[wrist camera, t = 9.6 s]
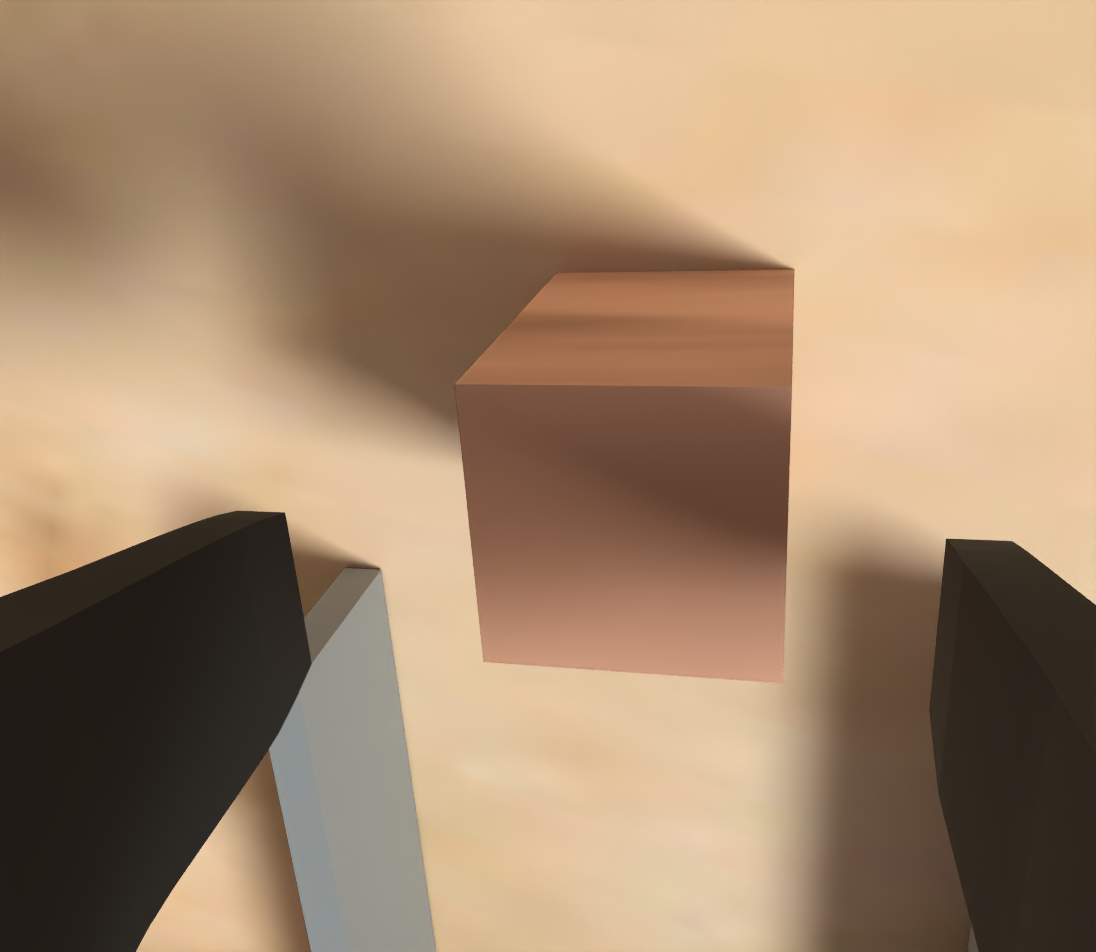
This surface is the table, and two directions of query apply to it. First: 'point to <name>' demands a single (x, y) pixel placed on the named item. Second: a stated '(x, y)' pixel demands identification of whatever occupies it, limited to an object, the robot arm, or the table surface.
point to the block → (635, 474)
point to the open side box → (355, 783)
